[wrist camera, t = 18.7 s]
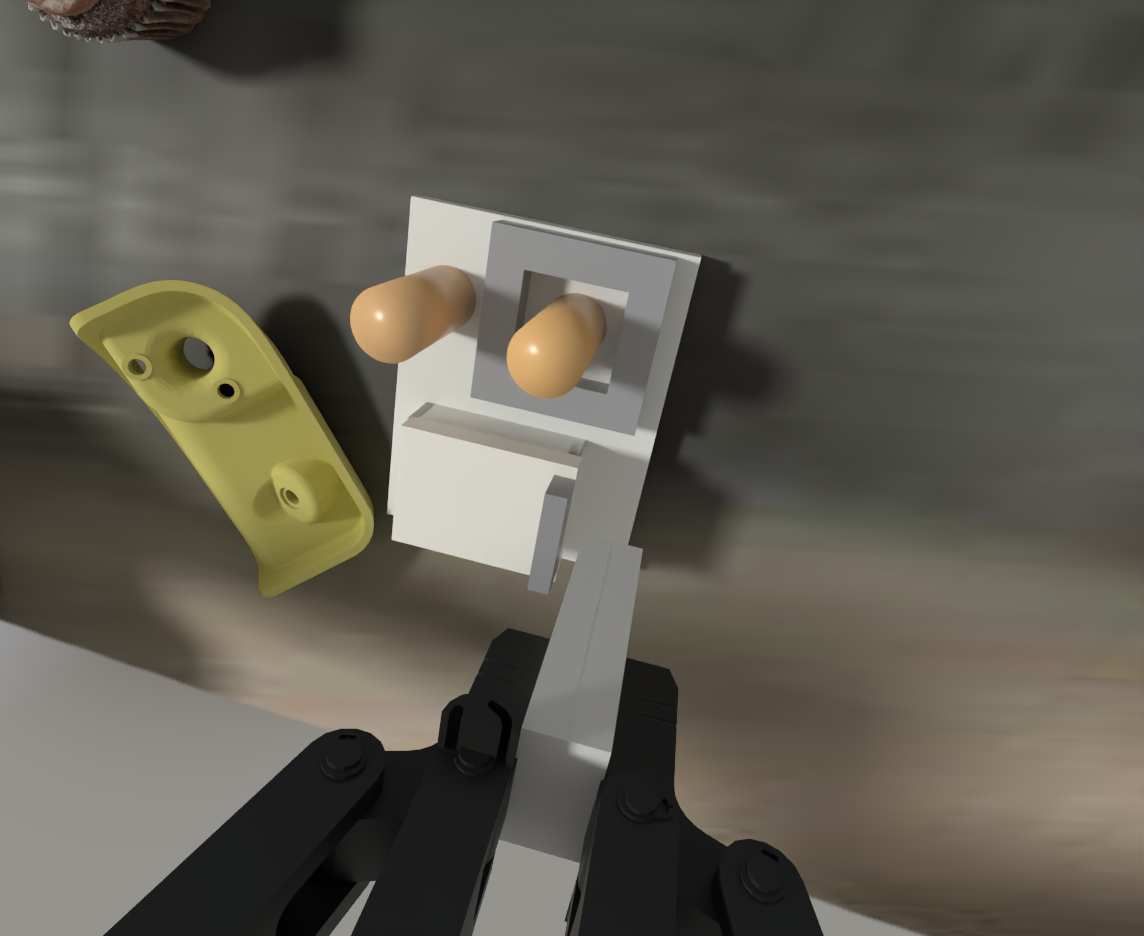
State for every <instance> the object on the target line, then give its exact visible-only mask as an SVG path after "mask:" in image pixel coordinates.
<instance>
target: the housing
mask: <svg viewBox="0 0 1144 936" xmlns="http://www.w3.org/2000/svg"><path fill="white" fill-rule="evenodd" d="M700 261H701V255H700V254H695V253H690V252H686V251H681V250H676V249H672V248H667V247H662V246H658V245H653V244H648V243H643V242H639V241H634V240H629V239H625V238H620V237H615V236H610V235H606V234H601V233H596V232H592V231H587V230H582V229H577V228H573V227H568V226H563V225H559V224H554V223H549V222H544V221H540V220H535V219H530V218H526V217H521V216H516V215H511V214H507V213H502V212H497V211H493V210H488V209H483V208H479V207H474V206H469V205H464V204H460V203H455V202H450V201H446V200H441V199H436V198H431V197H427V196H422V195H420V196H411V206H410V219H409V232H408V245H407V258H406V271H405V276H404V277H401V278H398V279H395V280H392V281H389V282H386V283H383V284H380V285H377V286H374V287H371V288H368V289H366V290H365V291H363V292H362V293H361V294H360V295H359V296H358V297H357V298H356V300H355V302H354V304H353V306H352V309H351V315H350V323H351V329H352V332H353V335H354V337H355V339H356V341H357V343H358V344H359V346H360V347H361V348H362V349H363V350H364V351H365V352H366V353H367V354H368V355H369V356H371V357H372V358H374V359H376V360H378V361H381V362H384V363H398V376H397V389H396V402H395V415H394V428H393V441H392V454H391V467H390V480H389V493H388V506H387V514H390V515H394V504H395V492H396V479H397V467H398V455H399V443H400V430H401V425H402V424H403V423H404V422H406V421H407V420H408V419H409V418H410V417H412V416H414V417H418V418H423V419H427V420H431V421H435V422H439V423H443V424H448V425H452V426H456V427H460V428H464V429H468V430H472V431H477V432H481V433H485V434H489V435H493V436H497V437H501V438H506V439H510V440H514V441H518V442H522V443H526V444H530V445H535V446H539V447H543V448H547V449H551V450H555V451H560V452H564V453H568V454H572V455H576V456H580V457H583V458H582V463H581V468H580V473H579V478H578V482H577V487H576V492H575V497H574V502H573V506H572V511H571V516H570V521H569V526H568V530H567V535H566V540H565V545H564V549H563V554H562V558H563V559H567V560H571V561H575V562H576V559H577V555H578V552H579V549H580V546H581V543H582V540H583V537H584V534H586V535H590V536H594V537H598V538H602V539H606V540H610V541H614V542H618V543H622V544H625V545H628V543H629V539H630V535H631V531H632V527H633V523H634V519H635V516H636V512H637V508H638V504H639V500H640V496H641V492H642V488H643V484H644V480H645V476H646V472H647V469H648V465H649V461H650V457H651V453H652V449H653V445H654V441H655V437H656V433H657V429H658V425H659V421H660V418H661V414H662V410H663V406H664V402H665V398H666V394H667V390H668V386H669V382H670V378H671V374H672V371H673V367H674V363H675V359H676V355H677V351H678V347H679V343H680V339H681V335H682V331H683V327H684V324H685V320H686V316H687V312H688V308H689V304H690V300H691V296H692V292H693V288H694V284H695V280H696V277H697V273H698V269H699V265H700ZM568 293H580V294H584V295H586V296H588V297H590V298H592V299H593V300H595V301H596V302H597V303H598V304H599V306H600V307H601V309H602V310H603V312H604V315H605V318H606V325H607V328H606V334H605V337H604V340H603V342H602V343H601V345H600V347H599V349H598V350H597V352H596V354H595V355H594V357H593V359H592V360H591V362H590V364H589V365H588V367H587V369H586V370H585V372H584V374H583V375H582V377H581V379H580V380H579V382H578V383H577V385H576V386H575V387H574V388H573V389H572V390H571V391H570V392H568V393H567V394H565V395H563V396H560V397H557V398H551V399H544V398H538V397H535V396H532V395H530V394H528V393H526V392H525V391H524V390H522V389H521V388H520V387H519V386H518V385H517V384H516V383H515V381H514V380H513V378H512V376H511V374H510V372H509V369H508V365H507V350H508V346H509V343H510V341H511V339H512V337H513V336H514V334H515V333H516V332H517V331H518V330H519V329H521V328H522V327H523V326H524V325H525V324H526V323H528V322H529V321H530V320H531V319H532V318H534V317H535V316H536V315H537V314H538V313H540V312H541V311H542V310H543V309H544V308H546V307H547V306H548V305H549V304H550V303H551V302H553V301H554V300H555V299H556V298H558V297H560V296H562V295H564V294H568Z"/></svg>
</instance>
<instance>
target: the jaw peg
mask: <svg viewBox="0 0 1144 936" xmlns="http://www.w3.org/2000/svg"><path fill="white" fill-rule="evenodd" d="M606 328H607V325H606V318H605V315H604V312H603V310H602V309H601V307H600V306H599V304H598V303H597V302H596V301H595V300H593V299H592V298H590V297H588V296H586V295H584V294H580V293H568V294H564V295H562V296H560V297H558V298H556V299H555V300H554V301H553V302H551V303H550V304H549V305H548V306H547V307H546V308H544V309H543V310H542V311H541V312H540V313H538V314H537V315H536V316H535V317H534V318H532V319H531V320H530V321H529V322H528V323H526V324H525V325H524V326H523V327H522V328H521V329H519V330H518V331H517V332H516V333H515V334H514V336H513V337H512V339H511V341H510V343H509V346H508V350H507V365H508V369H509V372H510V374H511V376H512V378H513V380H514V381H515V383H516V384H517V385H518V386H519V387H520V388H521V389H522V390H524V391H525V392H526V393H528V394H530V395H532V396H535V397H538V398H544V399H551V398H557V397H560V396H563V395H565V394H567V393H568V392H570V391H571V390H572V389H573V388H574V387H575V386H576V385H577V383H578V382H579V380H580V379H581V377H582V375H583V374H584V372H585V370H586V369H587V367H588V365H589V364H590V362H591V360H592V359H593V357H594V355H595V354H596V352H597V350H598V349H599V347H600V345H601V343H602V342H603V340H604V337H605V334H606Z"/></svg>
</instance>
